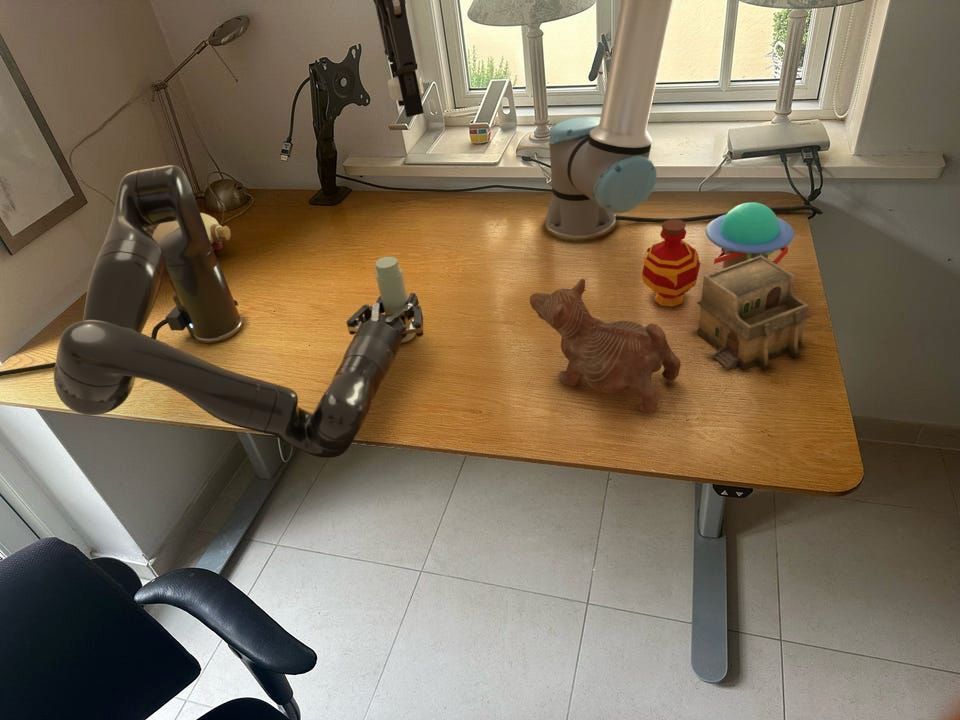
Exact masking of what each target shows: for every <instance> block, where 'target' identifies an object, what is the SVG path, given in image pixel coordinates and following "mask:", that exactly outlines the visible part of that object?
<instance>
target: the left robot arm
mask: <svg viewBox="0 0 960 720" xmlns="http://www.w3.org/2000/svg"><path fill="white" fill-rule="evenodd" d="M200 213H201V211H200V209H199V206H198V202H197V199H196V197H195V193H194V191H193V188H192V185H191V183H190V180H189V178H188V176H187V175H186V173H185V171H184V170H183V169H182V168H181V167H180V166H179V165H177V164H169V165H163V166H155V167H150V168H144V169H140V170H133V171H131V172H128V173H127V174H125V175H124V176H123V177H122V179H121V181H120V183H119V186H118V190H117V193H116V199H115V203H114V210H113V215H112V218H111V221H110V224H109V227H108V230H107V233H106V236H105V238H104V241H103V244H102V246H101V247H100V250H99V251H98V254H97V257H96V259H95V261H94V265H93V267H92V270H91V274H90V277H89V282H88V286H87V292H86V297H85V304H84V310H83V317H82V320H80V321H77V322H74V323H72V324H71V325H69V326H68V327H67V328H65V329H64V330H63V332H62V334H61V336H60V339H59V341H58V346H57V351H56V357H55V358H56V359H55V362H49V363H44V364H38V365H32V366H31V365H30V366H25V367H20V368H11V369H7V370H1V371H0V377H4V376H12V375H18V374H24V373H30V372H35V371H41V370H42V371H43V370H46V369H53V368H54V372H53V385H54V388H55V392H56V395H57V396H58V398H59V400H60V401H61V402H62V403H63V404H64V406H66V407H67V408H68V409H69V410H71V411H73V412H75V413H77V414H80V415H84V416H100V415H104V414H106V413H109V412H112V411H114V410H115V409H117V408H118V407H120V406H121V405H123V403H125V401H126V400H127V399H128V397H129V396H130V395H131V393H132V390H133V389H134V385H135V381H136V378H137V379H142V380H147V381H151V382H155V383H158V384H160V385H162V386H165V387H167V388H170V389H172V390H173V391H175V392H176V393H178V394H181V395H182V396H184V397H185V398H187V399H188V400H189V401H191V402H192V403H194V404H195V405H196V406H198V407H199V408H200V409H202V410H203V411H205V412H206V413H208V414H209V415H211V416H212V417H214V418H215V419H217V420H219V421H221V422H224V423H225V424H228V425H232V426H233V427H238V428H242V429H245V430H249V431H254V432H258V433H263V434H267V435H271V436H274V437H276V438H278V439H279V440H281V441H283V442H285V443H286V444H287V445H290V446H292V447H294V448H296V449H298V450H300V451H302V452H304V453H306V454H308V455H311V456H313V457H317V458H324V459H329V458H331V459H332V458H336V457H340V456H342V455H343V454H344V453H346V451H347V450H348V449H349V447H350V446H351V445H352V443H353V442H354V440H355V439H356V437H357V435H358V434H359V432H360V431H361V429H362V427H363V425H364V423H365V421H366V419H367V417H368V415H369V413H370V410H371V407H372V406H371V405H372V403H373V400H374V398H376V395H377V393H378V391H379V388H380V386H381V384H382V382H383V381H384V379H385V378H386V377H387V375H388V373H389V372H390V369H391V367H392V365H393V363H394V361H395V359H396V356H397V354H398V352H399V350H400V347H401V345H402V343H401V341H402V340H403V339H404V338H405V337H406V336H407V334H412V333H415V336H416V337H418V338H419V337H422V336H424V316H423V312H422V311H423V310H422V306H421V305H420V303H419V302H420V301H419V298H418V295H416V292H410V294H409V296H408V300H407V302H406V305H405V306H404V307H403V308H402V309H398V310H397V311H396V312H395V313H393V314H391V315H386V314H385V312H384V308H383V303H382V299H381V295H380V294H379V296H378V297H377V299H376V301H375V302H374V303H373V304H372V305H370V306H369V304H363V305H362V306H361V307H360V308H359V309H357V311H356V312H354V313H353V314H352V315H351V316H350V317H349V318H348V319H347V320H346V326H347V330H348V333H349V335H350V336H353V335H354V336H353V338H352V340H351V342H350V343H349V345H348V347H347V349H346V350H345V352H344V354H343V357H342V361H341V362H340V364H339V366H338V367H337V369H336V371H335V373H334V375H333V377H332V380H331V383H330V384H329V386H328V387H327V389H326V390H325V392H324V393H323V395H322V397H321V398H320V400H319V401H318V403H317V405H316V406H315V408H314V409H313V412H310V411H307V410H305V409H303V408H302V407H300V406H299V397H298V393H297V392H296V391H295V390H294V389H292V388H290V387H287V386H284V385H282V384H281V385H280V384H277V383H273V382H270V381H266V380H263V379H259V378H255V377H252V376H249V375H245V374H242V373H238V372H234V371H231V370H229V369H225V368H223V367H220V366H218V365H215V364H213V363H210V362H209V361H207V360H203V359H201V358H199V357H196V356H194V355H192V354H190V353H188V352H186V351H183V350H181V349H179V348H176V347H174V346H172V345H169V344H167V343H165V342H162V341H160V340H158V339H157V337H158V332H159V330H160V329H161V328H162V327H164V326H166V325H167V324H168V326H169V328H170V330H171V331H177V332H178V331H181V332H183V331H184V330H185V329H186V330H187V332H188V334H189V336H190V338H191V339H195V340H196V341H198V342H199V343H204V344H214V343H215V344H216V343H219V342H222V341H226V340H229V339H230V338H232V337H233V336H235V335H236V334H238V332H240V331H241V329H242V327H243V325H244V321H243V318H242V316H241V314H240V312H239V310H238V307H239V303H238V300H236V299H234V297H233V295H232V292H231V290H230V287H229V285H228V283H227V280H226V278H225V274H224V272H223V270H222V268H221V265H220V263H219V260H218V258H217V256H216V253H215V251H214V250H213V248H212V247H213V244H212V245H211V243H210V240H209V238H208V234H207V231H206V228H205V225H204V222H203V219H202V217H201V214H200ZM172 221H177V222H178V224H179V228H177V229H176V230H174V231H173V232H171V233H169V234H167V235H166V236H164V237H163V238H162V239H161V240H160V241H159V242H158V243H157V242H156V241H155V240H154V239H153V237H152V236H153V235H151V234H149V232H148V231H147V229H148V228H150V227H151V226H154V225H159V224H160V223H166V222H172ZM165 274H166V277H167V278H168V280H169V282H170V285H171V287H172V289H173V291H174V293H175V294H174V295H173V296H172V300H173V301H174V304H175V306H174V307H173V308H172V309H171V310H170V311H169V313H168V314H167V315H165V316H164V318H165V319H162V320H161V321H159V322H158V323H157V324H156V325H155V326H154V327H153V328H152V331H151V336H149V335H146V334H145V333H143V330H144V328H145V326H146V324H147V322H148V320H149V318H150V315H151V313H152V310H153V308H154V306H155V303H156V301H157V297H158V294H159V292H160V289H161V286H162V283H163V280H164V279H163V278H164V275H165ZM411 320H412V321H411ZM410 321H411V322H412V323H410V325H409V326H408V324H409V322H410ZM407 326H408V327H407Z"/></svg>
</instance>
